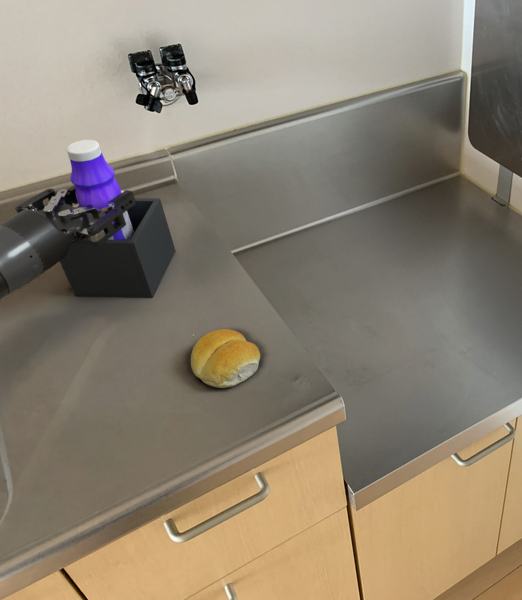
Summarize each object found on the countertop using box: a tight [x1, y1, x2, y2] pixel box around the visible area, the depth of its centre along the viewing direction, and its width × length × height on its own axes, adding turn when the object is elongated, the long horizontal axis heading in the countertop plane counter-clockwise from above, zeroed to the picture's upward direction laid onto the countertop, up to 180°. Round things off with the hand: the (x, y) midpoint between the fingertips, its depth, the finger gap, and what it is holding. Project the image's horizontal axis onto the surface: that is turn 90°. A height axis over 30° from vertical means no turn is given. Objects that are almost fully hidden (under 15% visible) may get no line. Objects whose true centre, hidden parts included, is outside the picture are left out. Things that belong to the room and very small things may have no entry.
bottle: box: [65, 139, 134, 240], centre depth 87 cm, size 7×6×17 cm
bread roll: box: [190, 328, 261, 389], centre depth 79 cm, size 8×9×4 cm
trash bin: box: [59, 197, 176, 298], centre depth 92 cm, size 12×12×10 cm
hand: (111, 190), depth 88 cm, fingers closed on bottle, 7 cm apart
